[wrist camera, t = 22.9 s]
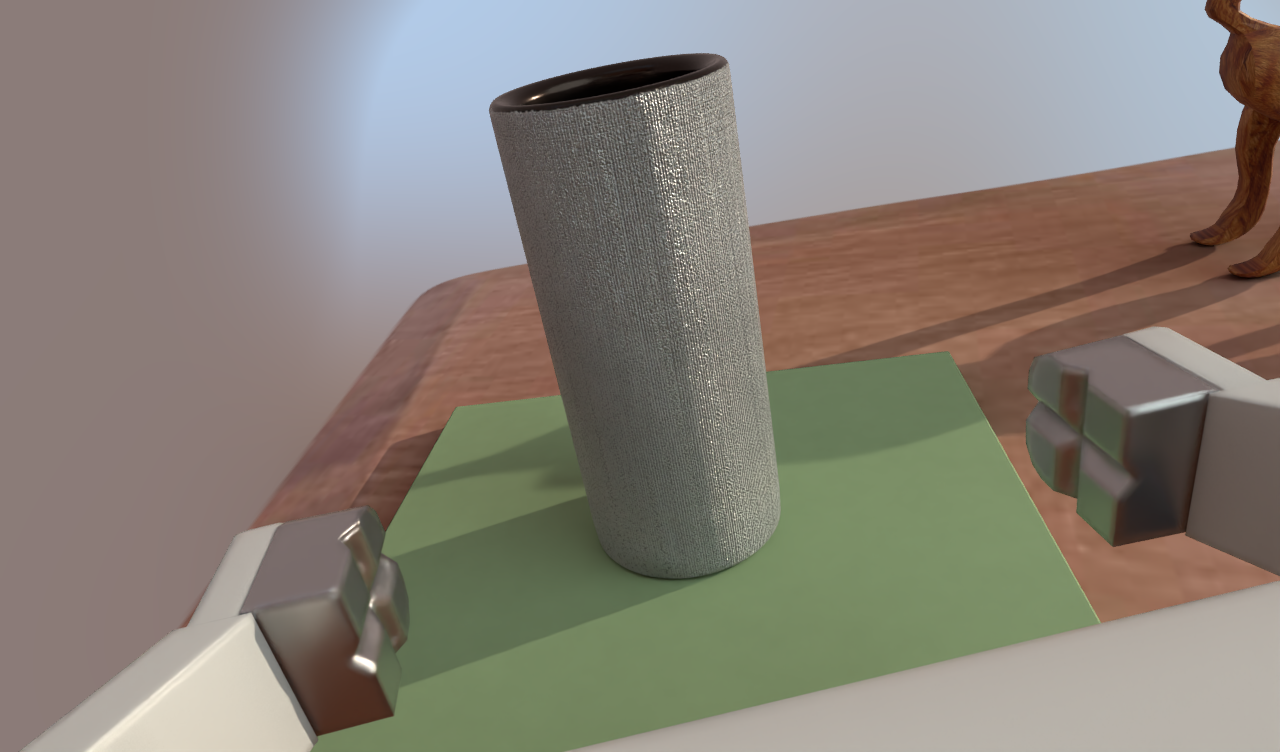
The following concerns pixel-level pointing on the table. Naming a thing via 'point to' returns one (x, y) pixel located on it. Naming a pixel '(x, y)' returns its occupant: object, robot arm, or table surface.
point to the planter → (649, 304)
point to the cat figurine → (1249, 129)
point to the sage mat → (719, 602)
